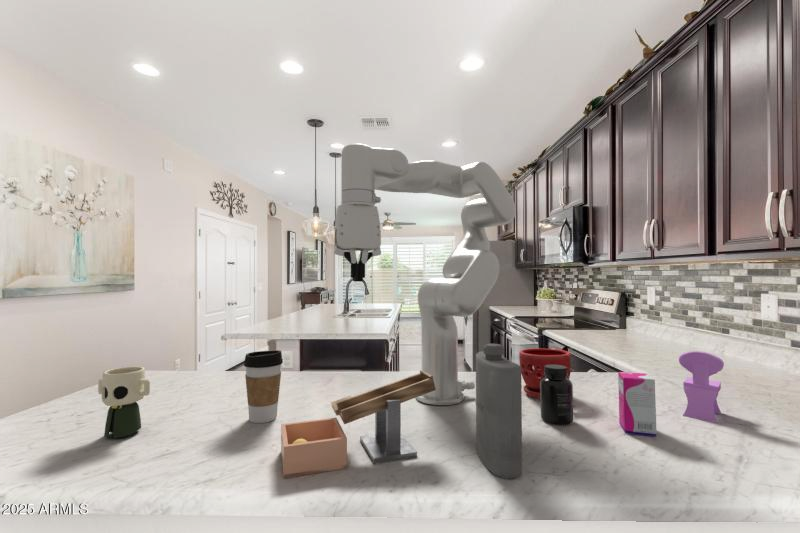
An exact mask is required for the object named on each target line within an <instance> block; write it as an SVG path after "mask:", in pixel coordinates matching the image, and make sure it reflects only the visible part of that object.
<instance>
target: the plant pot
mask: <svg viewBox="0 0 800 533" xmlns="http://www.w3.org/2000/svg"><path fill="white" fill-rule="evenodd" d="M518 354H519V355H518V356H519V359H518V360H519V366H520V367H521V378H522V379H523V382H524V384H525V385H524V386H523V391H524V393H526V394H527V396H529V397H531V398H535V399H539V400H540V381H541V379H542V378H543V377H545V374H544V366H545V365H562V366H566V367H567V373H568V376H567V378H568V379H569V380H570V377H571V367H572V361H571V360H572V359H571V353H570V352H569V351H567V350H564V349H555V348H554V349H553V348H543V347H542V348H541V347H539V348H526V349H521V350H519V353H518ZM533 368H534V369H533Z"/></svg>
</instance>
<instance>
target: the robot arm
mask: <svg viewBox="0 0 800 533" xmlns="http://www.w3.org/2000/svg"><path fill="white" fill-rule="evenodd" d="M340 185H341V188H340V189H341V191H340V192H341V198H340V199H341V201H340V202H341V204H339V205H338V206H337V209H336V214H335V222H334V234H333V235H334V237H333V239H334V240H333V241H334V250H333V254H334V255H337V256H341V257H343V258H345V259H346V260H347V262H348V263H349V264H350V278H351V279H352V281H353V282H363V281H364V279H365V278H366V264H367V263H368V261H369V260H370V259H371V258H373V257H379V256H381V255H382V251H381V244H382V236H381V235H382V234H381V230H382V229H381V224H380V223H381V221H380V215H379V209H378V207H377V206H375V205H376V204H380V203H381V200H382V199H381V197H380V196H377V195H376V193H375V190H377V191H382V192H391V193H407V194H411V193H412V194H431V195H438V196H444V197H449V198H454V199H455V198H456V199H463V198H469V197H474V196H478V195H481V196H482V198H481V197H480V198H477V199H473V200H471V201H468V202H467V203H465V204H464V205H463V207H462V209H461V212H460V213H461V214H460V219H461V220H460V221H461V225H462V229H463V230H462V231H463V232H462V233H463V236H462V239H460V241H459V243H458V244H457V246H456V247H455V248H454V250H453V251H452V252H451V253H450V254H449V256H447V259H446V260H445V262H444V264H443V266H442V276H443V277H437V278H430V279H427V280H425V281H424V282H423V283H422V284H421V285H420V287H419V289H418V292H417V304H418V309H419V315H420V320H421V323H420V325H421V370H424V371H425V372H427V373H429V374H430V375H432V376H433V380H434V384H435V388H436V390H434V391H432V392H429V393H427V394H424V395H421V396H419V397H416V398H415V399H417V401H419V402H420V403H423V404H426V405H427V404H428V405H433V406H451V405H457V404H459V403H462V402H463V401H464V398H465V395H464V394H465V393H464V391H465V390H474V389H475V388H476V384H475V382H474V381H465V380H460V379H458V378H459V373H458V372H459V371H458V370H459V369H458V368H459V366H458V364H459V362H458V360H459V354H458V353H459V352H458V351H459V350H458V347H459V346H458V345H459V344H458V343H459V341H458V339H459V338H458V337H459V334H458V326H457V324H456V323H457V322H456V320H455V318H454V317H459V318H460V317H464V318H465V317H469V316H472V315H473V314H475V313H476V312H478V310H479V308H480V307H481V305H482V304H483V303H484V301H485V299H486V298H487V296H488V295H489V294H490V292H491V291H492V289H493V287H494V285H495V284H496V283H497V280H498V279H499V278H498V277H499V275H500V262H499V259H498V257H497V255H496V254H495V253H494V252H492V251H491V250H490V249H491V244H490V243H491V242H490V240H489V238H488V236H487V232H486V228H491V227H498V226H499V227H500V226H505V225H508V224H510V223H511V222H512V221H513V220H514V219H515V217H516V211H517V208H516V203H515V201H514V198H513V196H512V195H511V194H510V192H509V191H508V189H507V187H506V186H505V183H503V181H502V179H501V178H500V176H499V174H498V173H497V172H496V171H495V170H494V169H493V167H492V166H491V165H489V163H487V162H485V161H476V162H473V163H469V164H466V165H463V166H458V165H455V164H450V163H445V162H443V161H438V160H431V159H430V160H420V161H413V162H411V163H410V162H409V158H407V156H406V155H405V153H403V152H402V151H400V150H398V149H395V148H386V147H385V148H382V147H372V146H369V145H368V144H363V143H351V144H347V145H346V146H344V147H343V149H342V150H341V183H340ZM358 251H359V259H357V255H356V252H358Z"/></svg>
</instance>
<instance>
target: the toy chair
mask: <svg viewBox="0 0 800 533" xmlns="http://www.w3.org/2000/svg"><path fill="white" fill-rule="evenodd" d="M678 362H679V364H680V366H681V367H683V368H684V369H685V370H686V371H687V372H690V373H691V374H692V377H690V376H687V377H686V379H684V381H683V383H682V384H683V388H682V389H683V392H684V394H685V396H686V399H687V405H686V408H685V411H684V413H683V414H682V415H683V417H688V418H693V419H696V420H697V419H698V420H701V421H706V422H713V423H717V424H718V423H719V421H718V418H717V416H716V414H721V413H722V412H721V410H720V407H719V404H718V400H717V398H718V396H719V393H720V391H721V389H722V386H721V384H722V383H721V381H719V380H718V381H716V380H710V376H714V375H716V374H717V373H719V372H721V371H722V370H723V369H724V367H725V364H724V361H723V359H721V357H719V356H717V355H714V354H713V353H709V352H706V351H698V350H692V351H691V350H690V351H686V352H683V353H681V354H680V355H679V356H678ZM715 413H716V414H715Z"/></svg>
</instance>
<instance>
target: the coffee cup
mask: <svg viewBox="0 0 800 533" xmlns="http://www.w3.org/2000/svg"><path fill="white" fill-rule="evenodd" d="M283 360H284V359H283V356H282V350H279V349H278V350H277V349H276V350H259V351H251V352H248V353H246V354H245V356H244V360H243V366H244V367H245V374H244V375H245V376H244V377H245V387H246V397H247V399H246V400H247V407H248V420H249V422H251V423H253V424H254V423H255V424H264V423H269V422H272V421H274V420H276V419H277V417H278V405H279V396H280V389H281V386H280V385H281V377H282V371H281V367H282V364H283Z"/></svg>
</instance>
